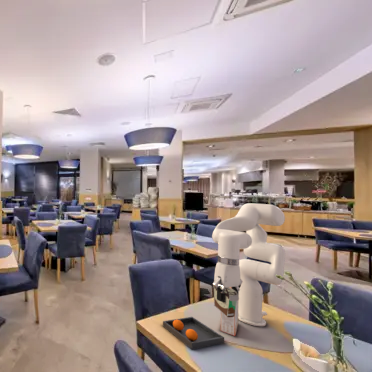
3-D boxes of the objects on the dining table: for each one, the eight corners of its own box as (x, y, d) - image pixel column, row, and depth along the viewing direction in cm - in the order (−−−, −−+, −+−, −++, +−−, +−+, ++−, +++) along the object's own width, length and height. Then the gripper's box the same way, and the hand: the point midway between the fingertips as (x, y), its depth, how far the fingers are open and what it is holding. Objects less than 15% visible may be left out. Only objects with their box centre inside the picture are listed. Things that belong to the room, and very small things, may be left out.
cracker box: (223, 319, 122) (224, 280, 122) (238, 324, 118) (239, 283, 118) (219, 330, 112) (220, 288, 112) (235, 336, 108) (236, 292, 108)
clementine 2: (191, 335, 107) (191, 326, 107) (200, 342, 103) (200, 332, 103) (183, 337, 106) (183, 327, 106) (191, 344, 102) (192, 333, 102)
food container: (245, 320, 97) (246, 297, 97) (229, 319, 98) (230, 296, 98) (226, 305, 109) (227, 284, 109) (212, 304, 110) (213, 283, 110)
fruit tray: (191, 321, 120) (192, 316, 120) (224, 343, 104) (224, 337, 104) (162, 326, 115) (162, 321, 115) (191, 349, 99) (191, 343, 99)
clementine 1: (178, 326, 115) (178, 317, 115) (186, 332, 110) (186, 322, 110) (170, 327, 113) (170, 318, 113) (178, 333, 109) (178, 323, 109)
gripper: (233, 256, 109) (233, 293, 109) (205, 259, 105) (204, 298, 105) (251, 262, 102) (251, 301, 102) (222, 265, 97) (221, 306, 98)
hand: (227, 299), depth 103 cm, fingers closed on food container, 7 cm apart
